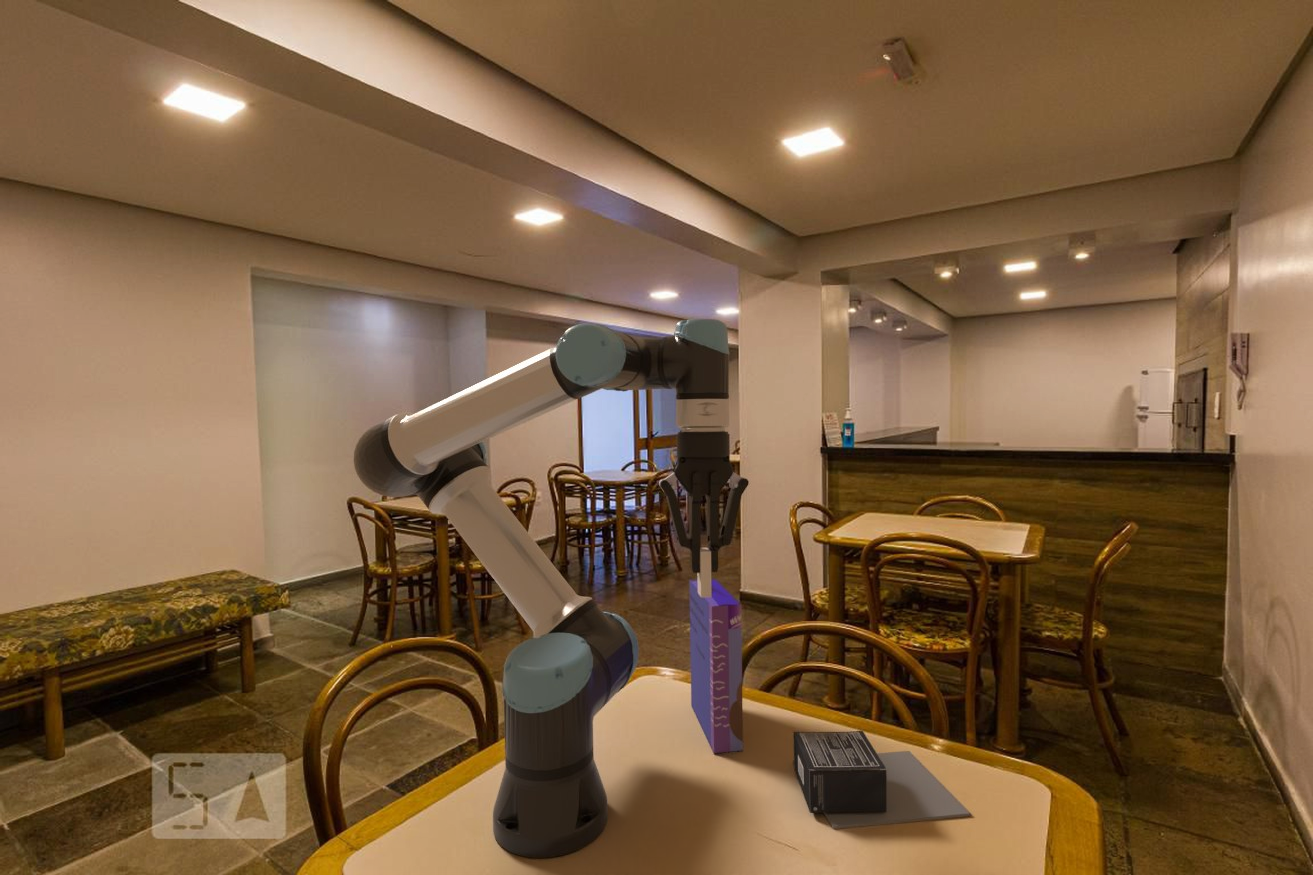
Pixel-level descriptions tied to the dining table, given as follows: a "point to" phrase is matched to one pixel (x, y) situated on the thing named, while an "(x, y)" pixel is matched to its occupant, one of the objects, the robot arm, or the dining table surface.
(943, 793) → the mat
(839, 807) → the small box
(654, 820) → the dining table surface
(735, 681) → the cereal box
